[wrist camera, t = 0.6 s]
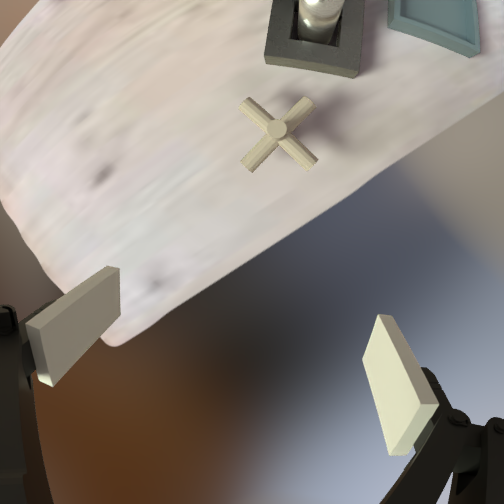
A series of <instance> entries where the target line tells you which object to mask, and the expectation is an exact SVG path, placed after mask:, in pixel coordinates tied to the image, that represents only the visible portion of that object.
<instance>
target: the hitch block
mask: <svg viewBox="0 0 504 504" xmlns="http://www.w3.org/2000/svg"><path fill="white" fill-rule="evenodd" d="M294 12H297V13H299V0H273V3H272V9H271V15H270V21H269V27H268V33H267V39H266V46H265V52H264V58H265V62H266V64H270V65H278V66H286V67H293V68H299V69H306V70H312V71H317V72H323V73H328V74H333V75H338V76H343V77H348V78H352V79H354V77H355V76H356V75H357V74H358V72H359V67H360V57H361V45H362V33H363V18H364V0H345V1H344V4H343V7H342V10H341V12H340V15H339V18H338V20H339V24H338V34H337V44H336V47H334V46H329V45H324V44H318V43H312V42H306V41H299V40H292V39H291V34H292V26H293V19H294Z"/></svg>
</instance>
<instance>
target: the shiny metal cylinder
mask: <svg viewBox="0 0 504 504" xmlns="http://www.w3.org/2000/svg"><path fill="white" fill-rule="evenodd" d="M344 1H345V0H299V15H298V31H297V34H298V37H299V39H300V41H306V42H312V43H318V44H324V45H327V44H328V43H329V42H330V41H331V38H332V35H333V32H334V30H335V27H336V24H337V21H338V18H339V15H340V12H341V10H342V7H343V4H344Z"/></svg>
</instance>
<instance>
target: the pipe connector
mask: <svg viewBox="0 0 504 504" xmlns="http://www.w3.org/2000/svg"><path fill="white" fill-rule="evenodd" d="M315 108H316V106H315V105H314V103H313V102H312V101H311V100H310V99H308V98H307V97H305V96H304V97H303V98H302V99H300V100H299V101H298V102H297V103H296V104H295V105H294V106H293V107H292V108H291V109H290V110H289V111H288V112H287V113H286V114H285V115H284V116H283V117H282V118H281V119H280V120H279V119H275V118H273V117H272V116H271V115H270V114H269V113H268V112H267V111H266V110H264V109H263V108H262V107H261V106H260V105H259V104H257V103H256V102H255V101H254V100H253V99H252V98H250V97H248V98H247V99H246V100H244V101H243V103H242V104H241V105H240V106H239V110H240V111H241V112H243V113H244V114H245V115H246V116H247V117H248V118H249V119H251V120H252V121H253V122H254V123H255V124H256V125H257V126H259V127H260V128H261V129H262V130H263V131H264V132H265V133H266V135H265V136H264V137H263V138H262V139H261V140H260V141H259V142H258V143H257V144H256V145H255V146H254V147H253V148H252V149H251V150H250V151H249V153H248V154H247V155H246V156H245V157H244V158H243V159H242V160H241V161H240V162H241V163H242V164H243V165H244V166H245V167H246V168H247V169H248V170H249V171H251V172H252V173H253V172H254V171H255V170H256V168H257V167H258V166H259V165H260V164H261V163H262V162H263V161H264V160H265V159H266V158H267V157H268V156H269V155H270V154H271V153H272V152H273V151H274V150H275V149H276V148H277V147H278V146H281V147H282V148H283V149H284V150H285V151H286V152H287V153H288V154H289V155H290V156H291V157H292V158H293V159H294V160H295V161H296V162H298V163H299V164H300V165H301V166H302V167H303V168H304V169H305V170H306V171H308V170H309V169H310V168H311V167H312V166H313V165H314V164H315V163H316V162H317V161H318V159H317V158H316V157H315V156H314V155H313V154H312V153H311V152H310V151H309V150H308V149H307V148H306V147H305V146H304V145H303V144H302V143H301V142H300V141H299V140H298V139H296V138H295V137H294V136H293V135H292V134H291V132H292V131H293V130H294V129H295V128H296V127H297V126H298V125H299V124H300V123H301V122H302V121H303V120H304V119H305V118H306V117H307V116H308V115H309V114H310V113H311V112H312V111H313V110H314V109H315Z"/></svg>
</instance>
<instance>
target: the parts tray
mask: <svg viewBox="0 0 504 504" xmlns="http://www.w3.org/2000/svg"><path fill="white" fill-rule="evenodd" d="M387 28H389V29H393V30H396V31H399V32H403V33H406V34H409V35H412V36H415V37H418V38H421V39H423V40H426V41H429V42H432V43H434V44H437V45H440V46H442V47H445V48H447V49H450V50H452V51H455V52H457V53H459V54H462V55H464V56H466V57H468V58H471V57H473V56H475V55H477V54H478V53H480V36H479V23H478V12H477V3H476V0H388V27H387Z"/></svg>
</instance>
